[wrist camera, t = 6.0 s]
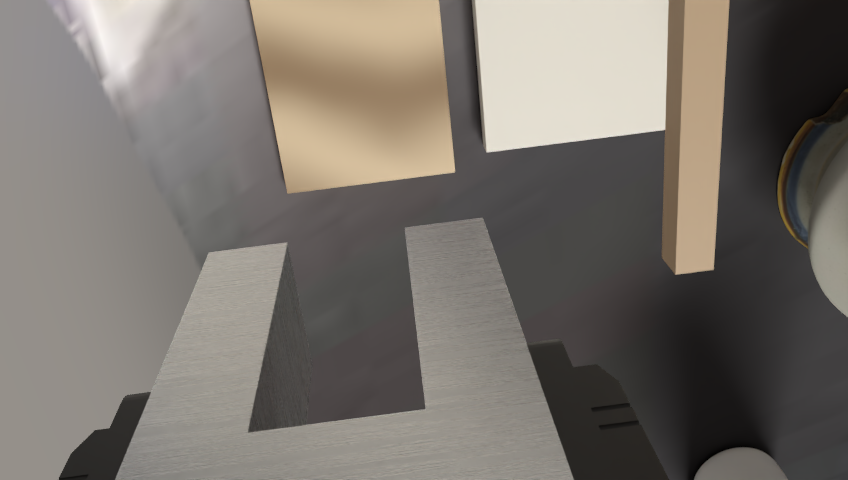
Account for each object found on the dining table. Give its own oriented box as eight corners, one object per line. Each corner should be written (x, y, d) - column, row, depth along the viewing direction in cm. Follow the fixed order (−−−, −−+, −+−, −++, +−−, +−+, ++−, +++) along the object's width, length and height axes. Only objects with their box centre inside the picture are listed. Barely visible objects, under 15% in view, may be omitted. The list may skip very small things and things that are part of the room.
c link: (209, 252, 16) (77, 568, 9) (482, 217, 16) (581, 501, 9) (239, 374, 17) (148, 739, 10) (492, 341, 17) (586, 679, 10)
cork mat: (246, -29, 33) (244, -28, 33) (432, -52, 33) (433, -51, 33) (288, 188, 37) (287, 193, 37) (453, 167, 38) (455, 172, 37)
